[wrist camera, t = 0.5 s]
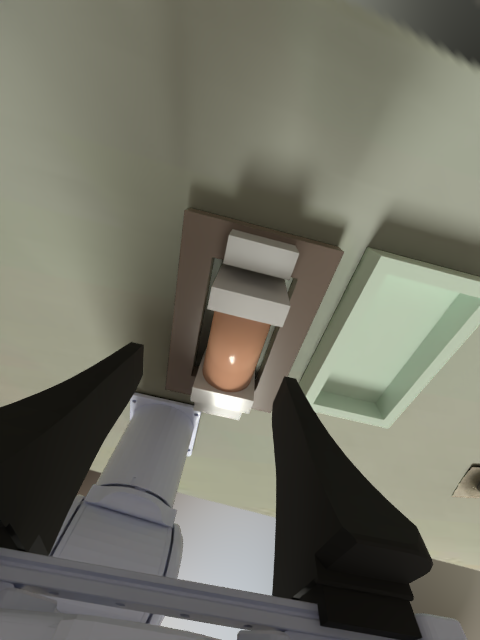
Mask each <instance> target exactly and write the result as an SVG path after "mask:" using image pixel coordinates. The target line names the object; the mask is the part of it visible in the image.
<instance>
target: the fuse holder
mask: <svg viewBox="0 0 480 640" xmlns="http://www.w3.org/2000/svg"><path fill="white" fill-rule="evenodd" d="M343 253H344V251H342V250H341V249H340V248H339V247H337V246H333V245H330V244H326V243H322V242H318V241H315V240H311V239H307V238H303V237H299V236H296V235H292V234H288V233H284V232H281V231H277V230H273V229H269V228H265V227H262V226H258V225H254V224H250V223H246V222H243V221H239V220H235V219H231V218H228V217H224V216H220V215H216V214H212V213H209V212H205V211H201V210H197V209H194V208H188V209H186V210H185V211H184V221H183V230H182V239H181V249H180V258H179V267H178V276H177V286H176V295H175V304H174V313H173V323H172V332H171V341H170V350H169V360H168V369H167V378H166V387H165V389H166V390H170V391H175V392H179V393H184V394H188V395H191V393H192V388H193V384H194V381H195V378H196V375H197V372H198V369H199V366H195V361H196V356H197V350H198V345H199V340H200V334H201V329H202V323H203V318H204V312H205V307H206V301H207V296H208V290H209V285H210V279H211V274H212V269H213V263H214V258H218V259H222V260H224V262H223V264H227V265H231V266H235V267H239V268H243V269H247V270H251V271H254V272H258V273H262V274H266V275H270V276H274V277H278V278H282V279H286V280H290V278H291V277H292V278H293V281H292V284H291V286H290V289H289V292H288V297H289V301H290V309H289V312H288V314H287V317H286V319H285V322H284V325H283V327H279V326H276V327H275V330H274V332H273V335H272V338H271V340H270V343H269V346H268V349H267V351H266V354H265V357H264V359H263V362H262V365H261V368H260V370H259V373H258V376H257V378H256V380H255V383H254V402H253V405H252V407H251V409H255V410H259V411H264V412H268V413H271V411H272V406H273V401H274V399H275V397H276V394H277V392H278V390H279V387H280V385H281V383H282V380H283V378H284V376H285V377H287V376H288V374H289V372H290V370H291V368H292V365H293V363H294V361H295V359H296V357H297V354H298V352H299V350H300V348H301V346H302V343H303V341H304V339H305V337H306V335H307V332H308V330H309V328H310V326H311V324H312V321H313V319H314V317H315V315H316V313H317V310H318V308H319V306H320V304H321V302H322V299H323V297H324V295H325V293H326V291H327V289H328V286H329V284H330V282H331V280H332V278H333V275H334V273H335V271H336V269H337V267H338V264H339V262H340V260H341V258H342V256H343ZM193 410H194V411H199V412H203V413H208V414H212V415H217V416H221V417H226V418H230V419H235V420H239V419H240V416H241V413H242V412H238V411H233V410H229V409H224V408H220V407H215V406H211V405H207V404H202V403H198V402H195V404H194V409H193Z"/></svg>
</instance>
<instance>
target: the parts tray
mask: <svg viewBox="0 0 480 640" xmlns="http://www.w3.org/2000/svg"><path fill="white" fill-rule="evenodd" d="M479 325H480V277H479V276H475V275H471V274H467V273H464V272H460V271H456V270H452V269H449V268H445V267H441V266H437V265H434V264H430V263H426V262H422V261H419V260H415V259H411V258H407V257H404V256H400V255H396V254H392V253H389V252H385V251H381V250H377V249H373V248H370V247H367V248H366V250H365V252H364V254H363V256H362V258H361V260H360V262H359V264H358V266H357V268H356V270H355V272H354V274H353V276H352V278H351V280H350V282H349V284H348V286H347V288H346V290H345V293H344V295H343V297H342V299H341V301H340V303H339V305H338V307H337V309H336V311H335V313H334V315H333V317H332V319H331V321H330V323H329V325H328V327H327V329H326V331H325V333H324V335H323V337H322V339H321V341H320V343H319V345H318V347H317V349H316V351H315V353H314V355H313V357H312V359H311V361H310V363H309V365H308V367H307V369H306V371H305V373H304V375H303V377H302V379H301V381H300V383H299V385H300V387H301V389H302V391H303V393H304V394H305V396H306V398H307V400H308V401H309V403H310V405H311V407H312V408H313V410H314V411H315V412H316V413H321V414H325V415H330V416H334V417H338V418H343V419H347V420H352V421H356V422H360V423H365V424H369V425H374V426H378V427H383V428H387V429H388V428H389V427H390V426H391V425H392V424H393V423H394V422H395V420H396V419H397V418H398V417H399V416H400V415H401V414H402V412H403V411H404V410H405V409H406V408H407V407H408V406H409V404H410V403H411V402H412V401H413V400H414V399H415V398H416V396H417V395H418V394H419V393H420V392H421V391H422V390H423V389H424V387H425V386H426V385H427V384H428V383H429V382H430V381H431V379H432V378H433V377H434V376H435V375H436V374H437V373H438V371H439V370H440V369H441V368H442V367H443V366H444V365H445V363H446V362H447V361H448V360H449V359H450V358H451V357H452V355H453V354H454V353H455V352H456V351H457V350H458V349H459V348H460V346H461V345H462V344H463V343H464V342H465V341H466V340H467V338H468V337H469V336H470V335H471V334H472V333H473V332H474V330H475V329H476V328H477V327H478V326H479Z"/></svg>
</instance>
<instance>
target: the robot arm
mask: <svg viewBox="0 0 480 640" xmlns="http://www.w3.org/2000/svg"><path fill="white" fill-rule="evenodd" d="M143 350H144V345H142V344H137V343H133V342H131V343H129V344H128V345H126V346H124V347H123V348H121V349H120V350H118V351H116V352H115V353H113V354H112V355H110V356H109V357H107V358H105V359H104V360H102V361H100V362H99V363H97V364H95V365H94V366H92V367H90V368H88V369H87V370H85V371H83V372H81V373H79V374H77V375H76V376H74V377H72V378H70V379H68V380H66V381H64V382H62V383H60V384H58V385H55V386H53V387H51V388H49V389H47V390H44V391H42V392H40V393H37V394H35V395H32V396H30V397H27V398H25V399H22V400H19V401H17V402H14V403H12V404H9V405H6V406H3V407H0V640H220V639H216V638H212V637H208V636H205V635H201V634H196V633H192V632H188V631H183V630H178V629H172V628H168V627H162V626H160V624H161V622H162V621H163V619H164V616H169V617H175V618H181V619H187V620H193V621H199V622H204V623H210V624H216V625H222V626H228V627H234V628H240V629H245V630H241V631H239V633H238V635H237V640H467V638H466V636H465V634H464V631H463V629H462V627H461V625H460V623H459V622H458V621H457V620H456V619H452V618H447V617H442V616H436V615H430V614H414V613H413V610H412V607H411V604H410V601H412V600H413V597H414V596H413V594H412V591H411V589H410V586H409V583H411V582H413V581H415V580H416V579H418V578H420V577H422V576H424V575H425V574H427V573H428V572H430V570H431V568H432V566H433V562H432V559H431V557H430V555H429V552H428V550H427V548H426V546H425V544H424V541H423V539H422V537H421V535H420V533H419V531H418V529H417V527H416V526H415V525H414V524H413V523H412V522H411V521H410V520H409V519H408V518H406V517H405V516H404V515H403V514H402V513H401V512H400V511H399V510H398V509H397V508H395V507H394V506H393V505H392V504H391V503H390V502H389V501H388V500H387V499H386V498H385V497H384V496H383V495H382V494H381V493H380V492H379V491H378V490H377V489H376V488H375V487H374V486H373V485H372V484H371V483H370V482H369V481H368V480H367V479H366V478H365V477H364V476H363V475H362V474H361V472H360V471H359V470H358V469H357V468H356V467H355V466H354V465H353V463H352V462H351V461H350V460H349V459H348V458H347V456H346V455H345V454H344V453H343V451H342V450H341V449H340V448H339V446H338V445H337V444H336V442H335V441H334V440H333V438H332V437H331V436H330V434H329V433H328V431H327V430H326V429H325V427H324V426H323V424H322V423H321V421H320V420H319V418H318V416H317V415H316V413H315V411H314V410H313V408H312V407H311V405H310V403H309V401H308V400H307V398H306V396H305V394H304V393H303V391H302V389H301V387H300V385H299V384H298V382H297V380H296V379H294V378H290V377H285V376H284V378H283V380H282V383H281V385H280V387H279V390H278V392H277V394H276V397H275V399H274V401H273V406H272V430H273V441H274V453H275V464H276V533H275V534H276V535H275V559H274V576H273V592H272V596H270V595H264V594H258V593H253V592H247V591H242V590H236V589H230V588H225V587H218V586H213V585H208V584H202V583H197V582H191V581H185V580H180V579H177V577H178V573H179V568H180V563H181V558H182V549H183V538H182V534H181V530H180V526H179V525H178V524H174V520H175V516H176V512H177V510H175V509H173V504H174V501H175V497H176V493H177V489H178V486H179V482H180V478H181V475H182V471H183V467H184V464H185V460H186V456H191V454H192V450H193V446H194V441H195V437H196V433H197V428H198V424H199V420H200V415H201V412H199V411H194V410H193V409H194V405H189V404H185V403H180V402H176V401H171V400H167V399H162V398H158V397H153V396H149V395H144V394H140V393H135V390H136V388H137V386H138V384H139V382H140V380H141V378H142V376H143ZM129 401H130V422H129V424H128V426H127V428H126V430H125V432H124V433H123V435H122V437H121V439H120V441H119V443H118V444H117V446H116V448H115V450H114V452H113V454H112V455H111V457H110V459H109V461H108V463H107V465H106V466H105V468H104V470H103V472H102V474H101V476H100V478H99V479H98V481H97V483H96V485H95V484H93V485H92V487H91V489H90V490H89V492H88V494H87V496H86V498H85V496H82V495H77V493H78V491H79V489H80V486H81V485H82V482H83V480H84V479H85V477H86V475H87V473H88V471H89V469H90V467H91V465H92V463H93V461H94V459H95V457H96V455H97V453H98V451H99V449H100V447H101V445H102V443H103V442H104V440H105V438H106V437H107V435H108V433H109V432H110V430H111V429H112V427H113V426H114V424H115V422H116V421H117V419H118V418H119V416H120V415H121V413H122V412H123V410H124V408H125V407H126V405H127V404H128V402H129ZM76 495H77V496H76ZM84 498H85V500H84ZM250 630H251V631H250Z"/></svg>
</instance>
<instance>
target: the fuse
mask: <svg viewBox="0 0 480 640" xmlns="http://www.w3.org/2000/svg"><path fill="white" fill-rule="evenodd" d="M207 309H209V310H213V311H214V316H213V320H212V325H211V330H210V335H209V340H208V345H207V349H205V351H204V354H203V357H202V360H201V363H200V366H199V369H198V372H197V375H196V378H195V381H194V384H193V388H192V393H191V398H190V401H193V402H198V403H202V404H207V405H211V406H215V407H220V408H224V409H229V410H233V411H238V412H242V413H247V414H249V413H250V410H251V407H252V405H253V402H254V383H255V368H256V365H257V362H258V360H259V357H260V354H261V351H262V348H263V346H264V343H265V340H266V337H267V334H268V331H269V329H270V326H271V325H275V326H279V327H283V325H284V322H285V319H286V317H287V314H288V312H289V309H290V301H289V297H288V293H287V288H286V284H285V280H284V279H282V278H278V277H274V276H270V275H266V274H262V273H258V272H254V271H251V270H247V269H243V268H239V267H235V266H231V265H227V264H223V263H222V265H221V267H220V270H219V272H218V274H217V276H216V278H215V280H214V282H213V284H212V287H211V292H210V297H209V303H208V308H207Z"/></svg>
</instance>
